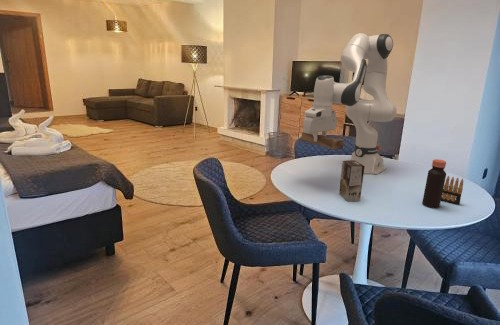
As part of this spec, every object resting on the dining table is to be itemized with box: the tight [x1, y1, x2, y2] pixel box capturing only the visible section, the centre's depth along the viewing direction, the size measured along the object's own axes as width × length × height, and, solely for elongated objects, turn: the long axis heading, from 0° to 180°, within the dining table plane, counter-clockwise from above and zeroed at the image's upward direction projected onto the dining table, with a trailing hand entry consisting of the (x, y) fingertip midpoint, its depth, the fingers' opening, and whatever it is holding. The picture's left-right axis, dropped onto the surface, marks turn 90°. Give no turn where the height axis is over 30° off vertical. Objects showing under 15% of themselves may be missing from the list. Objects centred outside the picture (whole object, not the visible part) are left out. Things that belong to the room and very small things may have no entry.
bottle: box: [421, 159, 447, 209], centre depth 143 cm, size 7×7×20 cm
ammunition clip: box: [441, 175, 464, 206], centre depth 149 cm, size 11×2×12 cm, turn 52°
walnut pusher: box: [301, 131, 345, 151], centre depth 160 cm, size 6×22×4 cm, turn 38°
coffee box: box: [338, 159, 365, 202], centre depth 150 cm, size 9×6×16 cm
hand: (319, 140), depth 160 cm, fingers closed on walnut pusher, 3 cm apart
